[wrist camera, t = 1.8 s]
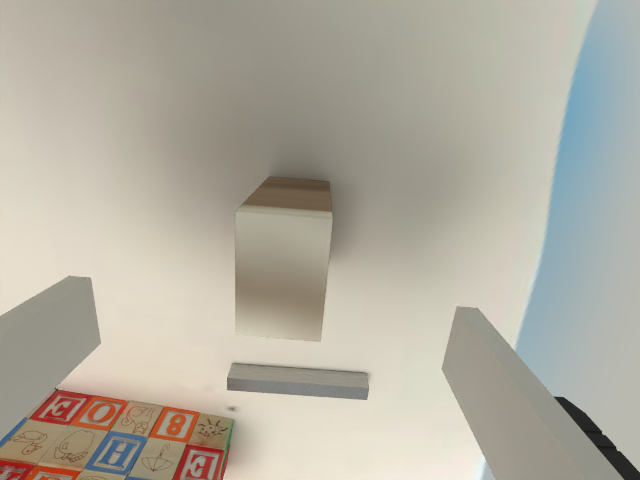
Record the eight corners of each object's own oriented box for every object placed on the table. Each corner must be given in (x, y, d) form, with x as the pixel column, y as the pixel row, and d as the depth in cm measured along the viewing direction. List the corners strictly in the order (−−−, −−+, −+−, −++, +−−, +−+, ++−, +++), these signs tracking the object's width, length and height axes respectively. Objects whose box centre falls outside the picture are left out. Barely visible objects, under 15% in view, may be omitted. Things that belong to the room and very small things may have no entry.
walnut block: (268, 176, 22) (235, 211, 14) (329, 181, 22) (332, 219, 14) (266, 259, 24) (235, 335, 16) (321, 264, 24) (320, 341, 16)
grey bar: (232, 363, 27) (227, 377, 26) (366, 373, 27) (369, 387, 26) (232, 375, 28) (227, 390, 26) (364, 384, 28) (367, 400, 26)
